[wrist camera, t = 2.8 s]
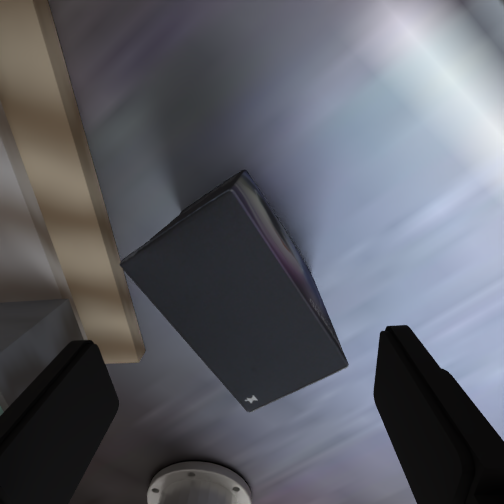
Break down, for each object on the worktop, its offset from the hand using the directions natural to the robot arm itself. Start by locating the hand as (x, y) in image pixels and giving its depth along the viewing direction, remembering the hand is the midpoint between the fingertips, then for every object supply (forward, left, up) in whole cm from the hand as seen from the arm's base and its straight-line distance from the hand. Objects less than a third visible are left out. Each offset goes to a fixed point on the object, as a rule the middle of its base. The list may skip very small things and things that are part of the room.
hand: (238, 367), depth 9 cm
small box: (-1, 0, -14) cm, 14 cm away
